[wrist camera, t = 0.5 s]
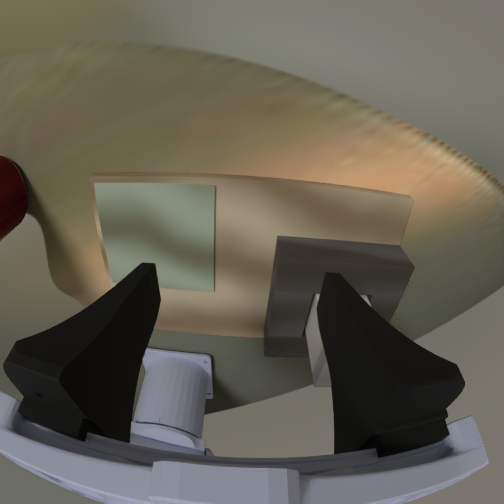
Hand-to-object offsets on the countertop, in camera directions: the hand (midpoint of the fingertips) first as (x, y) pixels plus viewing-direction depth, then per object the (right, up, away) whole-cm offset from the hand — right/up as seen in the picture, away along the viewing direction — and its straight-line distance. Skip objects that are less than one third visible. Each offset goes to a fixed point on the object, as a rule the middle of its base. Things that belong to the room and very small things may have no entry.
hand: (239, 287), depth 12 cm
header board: (0, 0, +11) cm, 11 cm away
